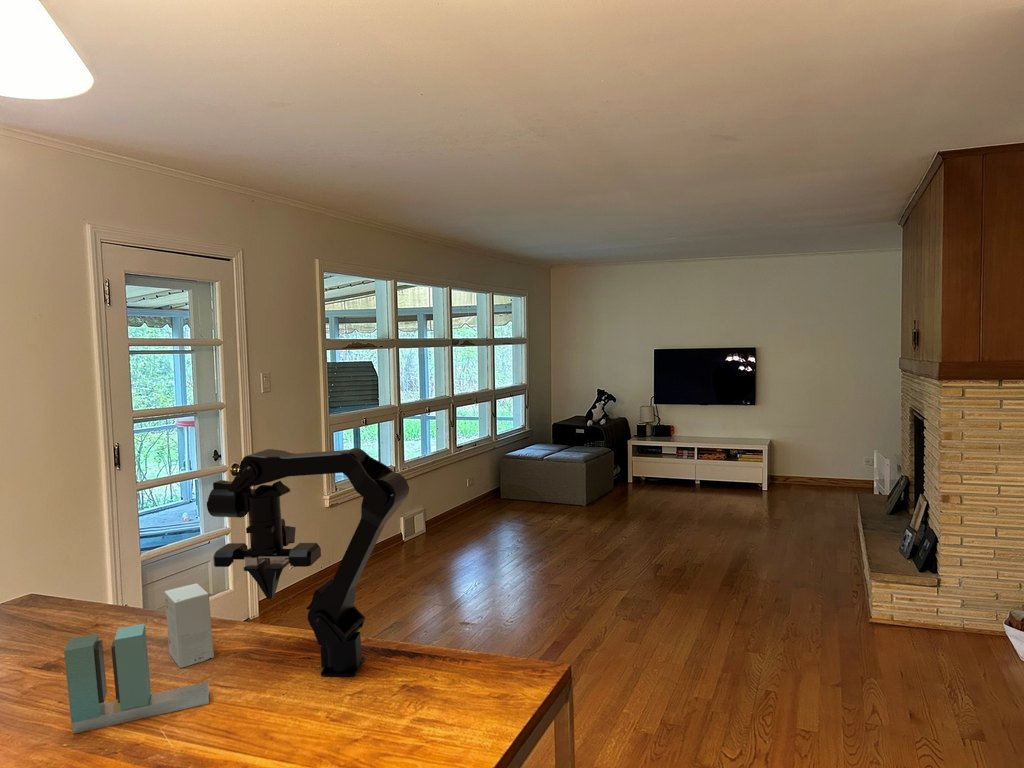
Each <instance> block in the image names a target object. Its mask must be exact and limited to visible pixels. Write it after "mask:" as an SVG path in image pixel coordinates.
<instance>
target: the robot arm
mask: <svg viewBox="0 0 1024 768" xmlns="http://www.w3.org/2000/svg"><path fill="white" fill-rule="evenodd" d="M329 474H343V475H344V476H345V477H347V479H348V480H349V482H350V483H351V485H352V487H353V489H354V491H355V492H356V493H358V494H359V495H360V496H361V497H362V501H361V504H360V505H361V506H360V510H361V511H360V519H359V523H358V525H357V526H356V528H355V531H354V533H353V536H352V537H351V539H350V540H349V541H350V542H349V544H348V546H347V547H346V550H345V552H344V555H343V557H342V559H341V560H340V563H339V565H338V567H337V569H336V572H335V574H334V575H333V578H330V579H328V580H327V581H326V582H325V583H323V584H321V586H319V587H318V588H316V589H315V591H314V593H313V595H312V599H311V602H310V604H309V605H308V606H307V607H306V608H305V609H306V610H308V612H307V617H306V619H307V621H308V623H309V626H310V627H311V629H312V631H313V633H314V636H315V639H316V641H317V643H318V646H320V647H319V648H320V649H319V651H320V663H321V665H320V666H321V668H322V670H321V671H320V676H322V677H330V676H331V677H355V676H356V675H357V674H358V672H359V671H360V669H361V667H362V666H363V664H364V662H365V660H366V658H365V656H362V640H361V639H362V638H361V631H359V630H360V629H362V628H363V627H364V623H365V619H366V617H365V615H364V614H363V613H361V611H360V610H359V608H357V607H356V606H355V605H354V604H355V602H356V601H355V600H356V587H357V585H358V584H357V583H358V582H359V580H360V578H361V575H362V574H363V571H364V569H365V567H366V565H367V563H368V561H369V559H370V558H371V555H372V553H373V551H374V548H375V546H376V545H377V542H378V540H379V538H380V536H381V533H382V531H383V529H384V528H385V525H386V524H387V523H388V521H389V520H390V519H391V517H392V516H394V514H395V513H396V512H397V510H398V509H399V508H400V507H401V505H403V503H404V502H405V499H406V498H407V497H408V495H409V491H410V486H409V484H408V481H407V480H406V478H405V477H404V476H403V475H402V474H400V473H397V472H395V471H393V470H392V469H391V468H390V467H389V466H387V465H386V464H385V463H383V462H381V461H379V460H377V459H375V458H374V457H371V456H370V455H369V454H368V453H366V451H365V450H364V449H362V448H359V447H353V448H351V449H342V450H341V449H340V450H327V451H314V452H312V451H311V452H302V453H301V452H300V453H293V452H289V451H286V450H281V449H273V448H272V449H271V448H267V449H264V450H263V449H262V450H260V451H257V452H254V453H251V454H248V455H245V456H243V458H242V460H241V462H240V463H239V470H238V472H237V473H236V475H235V476H234V478H233V480H232V481H229V480H224V479H223V480H217V481H214V482H213V483H212V490H211V491H210V493H209V494H208V498H207V501H206V509H207V512H208V513H209V515H210V516H211V517H213V518H214V517H215V518H237V519H238V518H241V519H242V518H244V517H246V515H247V514H248V515H247V516H248V526H247V527H245V532H246V534H249V538H250V539H249V541H250V547H249V548H248V545H247V544H246V542H238V543H236V542H235V543H232V542H231V543H227V544H225V545H223V546H222V547H220V548H219V549H217V550H216V551H215V552H214V554H213V559H212V560H213V566H214V567H216V568H220V567H221V568H226V567H227V568H228V567H229V568H230V567H231V565H232V564H233V563H234V561H235V560H244V561H245V566H244V567H243V571H244V572H248V574H250V576H251V577H252V578H253V579H254V581H256V584H257V585H258V587H259V588H260V589H261V591H262V593H263V594H264V596H265V598H266V599H267V600H273V599H275V596H276V593H277V592H276V591H277V588H278V585H279V582H280V578H281V575H282V572H283V570H284V569H285V567H287V566H288V565H291V566H292V568H293V567H294V568H295V567H297V568H299V567H300V568H301V567H302V568H303V567H305V568H307V567H311V566H312V565H313V564H315V563H316V561H318V560H319V559H320V558H321V557H322V548H321V546H320V545H319V543H317V542H299V543H298V544H297V545H295V546H294V547H292V548H284V547H287V546H289V545H290V544H295V543H296V542H295V540H296V529H297V527H296V526H290V525H286V521H285V518H282V508H281V496H285V495H286V494H289V493H290V492H291V488H289V487H288V486H287V485H285V484H284V483H283V482H282V481H281V480H280V479H284V478H288V477H301V476H302V477H303V476H313V475H329ZM277 480H278V481H277ZM274 481H276V482H274ZM270 482H274V483H272V484H268V483H270ZM256 486H257V487H256ZM252 487H256V488H252Z"/></svg>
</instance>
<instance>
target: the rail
mask: <svg viewBox="0 0 1024 768" xmlns="http://www.w3.org/2000/svg"><path fill="white" fill-rule="evenodd" d="M103 644H104V643H103V640H102V639H101V640H99V633H94V634H87V635H82V636H78V637H72V638H71V637H70V638H69V639H68V642H67V644H66V645H65V648H64V650H63V656H64V662H65V663H64V664H65V665H64V666H65V674H66V675H65V676H66V683H67V684H66V685H67V691H68V692H67V695H68V703H69V704H68V705H69V712H70V713H69V716H70V723H71V724H72V725H71V726H72V727H71V728H72V734H73V735H74V734H78V733H79V734H80V733H83V732H88V731H92V730H97V729H101V728H105V727H111V726H114V725H120V724H125V723H129V722H132V721H137V720H142V719H146V718H150V717H155V716H159V715H165V714H168V713H174V712H177V711H181V710H186V709H187V710H188V709H191V708H195V707H200V706H204V705H209V704H210V686H209V685H210V684H209V681H206V682H205V681H204V682H200V683H195V684H190V685H186V686H182V687H177V688H172V689H167V690H163V691H158V692H153V693H152V692H151V694H150V699H149V704H148V705H145V706H141V707H136V708H131V709H127V710H122V711H121V707H120V699H118V700H116V695H114V696H115V697H114V698H113V701H111V702H105V700H106V697H107V693H108V688H107V686H108V685H107V676H106V665H105V656H104V646H103Z"/></svg>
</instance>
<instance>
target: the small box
mask: <svg viewBox="0 0 1024 768" xmlns="http://www.w3.org/2000/svg"><path fill="white" fill-rule="evenodd" d="M164 601H165V602H164V603H165V614H166V615H165V616H166V628H167V629H166V631H167V640H168V652H169V653H168V654H169V655H170V657H171V658H172V660H173V661H174V662H175V664H176V665H177V666H178V667H179V668H180V669H183V668H186V667H189V666H191V665H195V664H199V663H202V662H204V661H208V660H211V659H212V658H215V656H214V655H215V653H214V642H213V632H212V631H213V630H212V629H213V628H212V617H211V606H210V605H211V604H210V594H209V592H208V591H206V589H204V588H203V587H202V586H201V585H200V584H199V583H193V584H188V585H184V586H180V587H176V588H171V589H168V590H164ZM210 658H211V659H210Z"/></svg>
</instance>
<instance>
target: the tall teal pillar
mask: <svg viewBox="0 0 1024 768" xmlns="http://www.w3.org/2000/svg"><path fill="white" fill-rule="evenodd" d="M146 631H147V630H146V623H141V624H140V623H139V624H136V625H129V626H123V627H118V628H117V631H116V633H115V637H114V638H113V641H112V644H111V647H110V648H111V659H112V660H111V661H112V669H113V679H114V680H113V681H114V690H115V691H114V692H115V696H116V700H118V699H120V707H121V711H122V710H127V709H131V708H136V707H141V706H145V705H148V704H149V699H150V694H152V687H151V677H150V676H151V675H150V665H149V664H150V663H149V653H148V644H147V642H148V641H147V632H146Z"/></svg>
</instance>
